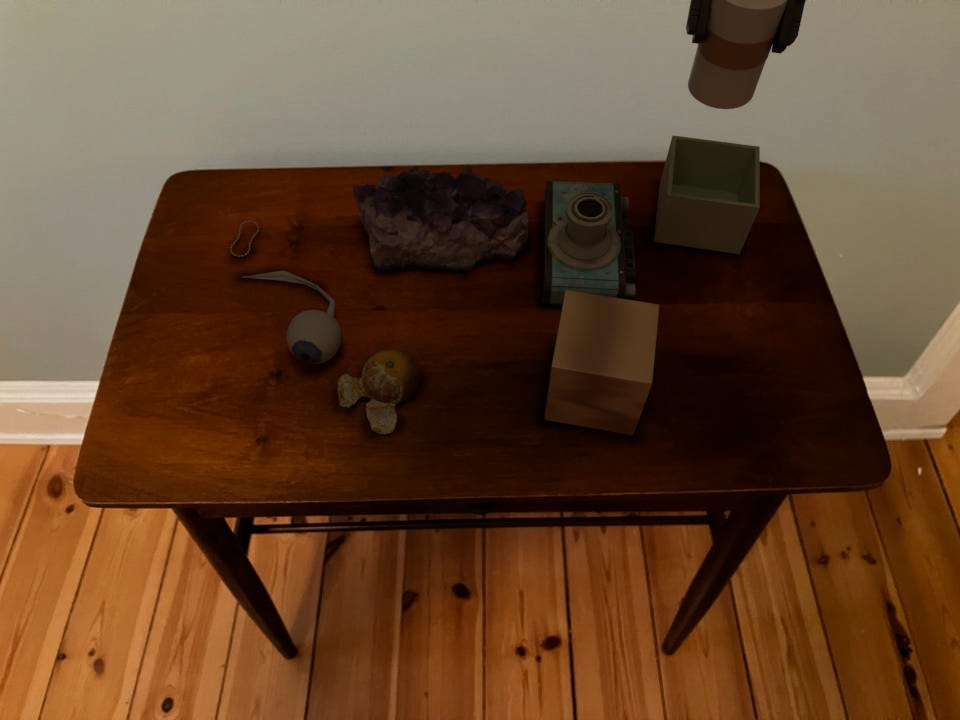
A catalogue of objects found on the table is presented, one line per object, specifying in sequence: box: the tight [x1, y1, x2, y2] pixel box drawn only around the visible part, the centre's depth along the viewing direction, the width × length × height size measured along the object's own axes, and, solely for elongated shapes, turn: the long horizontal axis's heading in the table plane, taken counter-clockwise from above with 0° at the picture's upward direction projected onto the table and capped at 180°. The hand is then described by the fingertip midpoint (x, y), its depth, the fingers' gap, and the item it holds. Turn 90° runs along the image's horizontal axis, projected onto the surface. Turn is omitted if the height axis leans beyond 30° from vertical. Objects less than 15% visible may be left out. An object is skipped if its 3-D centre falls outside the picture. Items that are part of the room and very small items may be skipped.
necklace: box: [229, 219, 261, 258], centre depth 87 cm, size 2×5×1 cm, turn 167°
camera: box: [541, 180, 637, 306], centre depth 83 cm, size 16×10×10 cm
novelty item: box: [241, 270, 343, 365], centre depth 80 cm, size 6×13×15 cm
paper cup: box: [687, 0, 788, 110], centre depth 58 cm, size 6×6×13 cm
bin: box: [653, 135, 761, 255], centre depth 87 cm, size 10×10×8 cm
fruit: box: [336, 349, 421, 435], centre depth 75 cm, size 8×8×4 cm
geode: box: [352, 165, 530, 272], centre depth 84 cm, size 20×12×10 cm, turn 91°
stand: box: [543, 290, 660, 436], centre depth 72 cm, size 9×9×10 cm
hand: (738, 45), depth 58 cm, fingers closed on paper cup, 5 cm apart
